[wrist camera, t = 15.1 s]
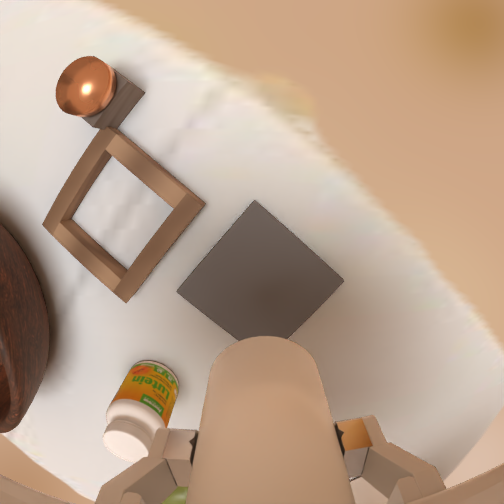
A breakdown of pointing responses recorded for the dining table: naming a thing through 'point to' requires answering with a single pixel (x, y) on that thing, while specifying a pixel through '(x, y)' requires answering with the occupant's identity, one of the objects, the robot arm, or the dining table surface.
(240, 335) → the pad
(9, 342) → the wooden bowl
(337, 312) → the dining table surface
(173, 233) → the square wooden frame
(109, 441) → the supplement bottle
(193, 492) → the cylinder
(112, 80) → the plunger
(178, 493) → the pear
